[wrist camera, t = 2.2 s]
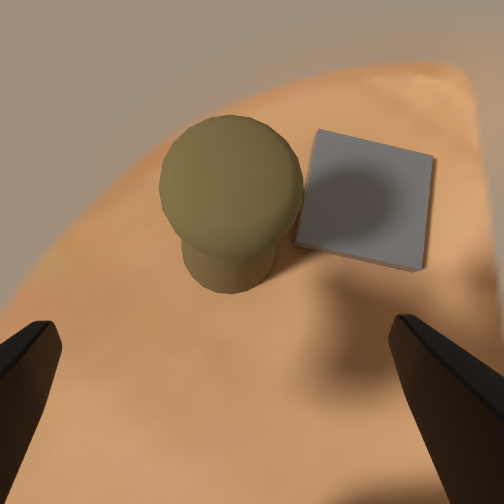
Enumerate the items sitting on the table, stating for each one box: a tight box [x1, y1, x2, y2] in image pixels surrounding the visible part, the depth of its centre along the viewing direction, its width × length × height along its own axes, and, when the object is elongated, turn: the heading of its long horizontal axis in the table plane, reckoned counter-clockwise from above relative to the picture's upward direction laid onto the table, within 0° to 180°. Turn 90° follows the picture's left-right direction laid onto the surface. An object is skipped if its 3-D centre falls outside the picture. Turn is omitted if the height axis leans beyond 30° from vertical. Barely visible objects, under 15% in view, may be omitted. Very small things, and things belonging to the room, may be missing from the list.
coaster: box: [294, 129, 433, 272], centre depth 22 cm, size 8×8×1 cm
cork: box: [159, 115, 303, 294], centre depth 16 cm, size 6×6×11 cm
